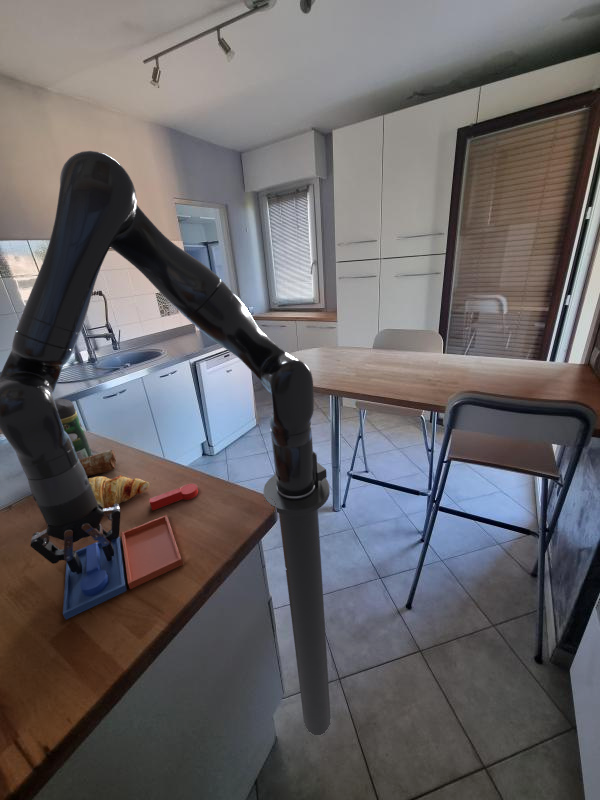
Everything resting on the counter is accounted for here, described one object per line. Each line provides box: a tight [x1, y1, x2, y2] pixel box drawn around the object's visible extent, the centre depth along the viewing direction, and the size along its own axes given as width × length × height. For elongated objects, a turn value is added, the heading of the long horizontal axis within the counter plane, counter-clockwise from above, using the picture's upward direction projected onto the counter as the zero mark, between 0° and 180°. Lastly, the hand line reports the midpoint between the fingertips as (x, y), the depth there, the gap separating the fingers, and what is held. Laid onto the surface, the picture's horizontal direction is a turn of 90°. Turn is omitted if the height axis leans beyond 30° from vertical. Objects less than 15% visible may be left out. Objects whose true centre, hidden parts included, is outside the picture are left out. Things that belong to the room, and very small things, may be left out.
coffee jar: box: [54, 397, 93, 460], centre depth 95 cm, size 10×8×19 cm
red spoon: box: [148, 483, 199, 511], centre depth 78 cm, size 11×4×2 cm, turn 121°
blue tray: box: [62, 536, 128, 620], centre depth 61 cm, size 9×14×1 cm, turn 31°
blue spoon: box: [80, 541, 109, 596], centre depth 60 cm, size 11×4×2 cm, turn 31°
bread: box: [79, 449, 117, 477], centre depth 90 cm, size 6×19×6 cm, turn 112°
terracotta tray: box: [121, 514, 184, 590], centre depth 65 cm, size 9×14×1 cm, turn 31°
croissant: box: [88, 474, 150, 508], centre depth 79 cm, size 21×10×8 cm, turn 113°
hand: (94, 563), depth 62 cm, fingers open, 4 cm apart
